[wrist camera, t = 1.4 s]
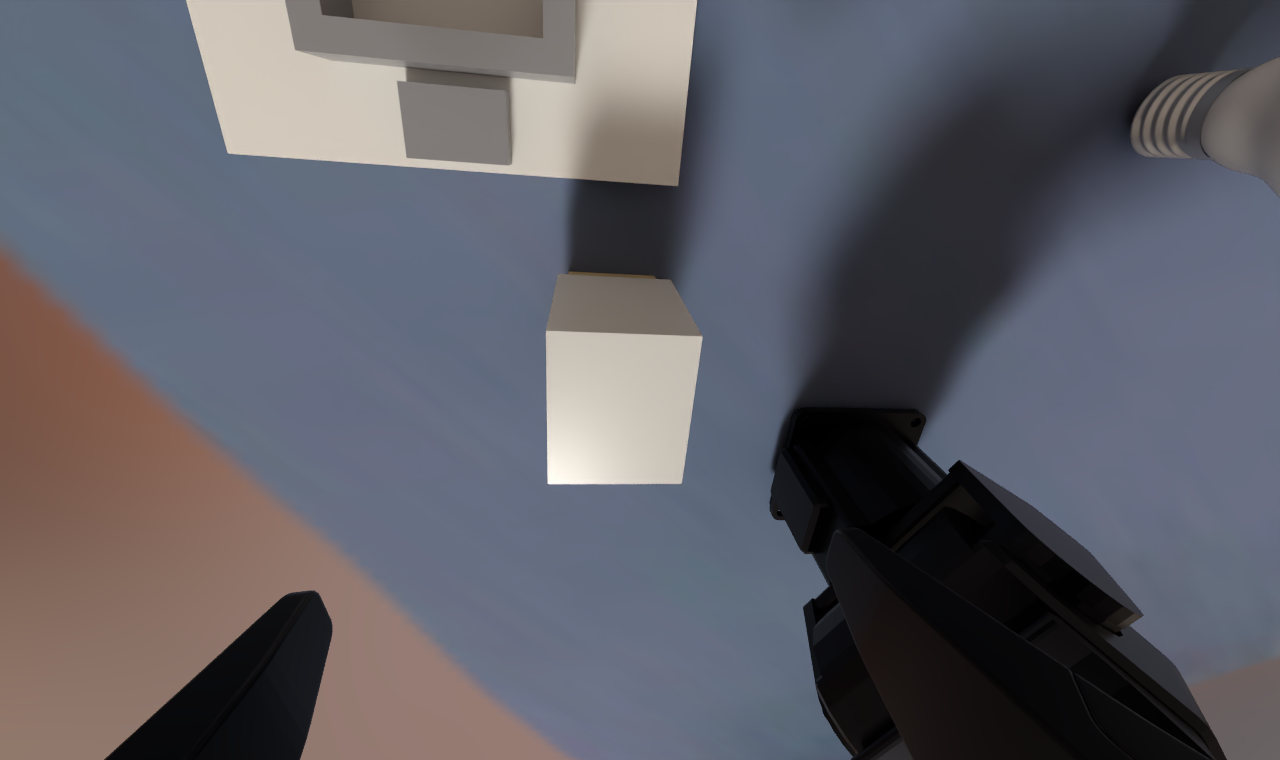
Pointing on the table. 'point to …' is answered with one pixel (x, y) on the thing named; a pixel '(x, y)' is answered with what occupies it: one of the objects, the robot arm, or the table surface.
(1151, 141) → the lightbulb
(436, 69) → the socket plate
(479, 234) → the table surface
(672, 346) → the plug
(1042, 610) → the robot arm
